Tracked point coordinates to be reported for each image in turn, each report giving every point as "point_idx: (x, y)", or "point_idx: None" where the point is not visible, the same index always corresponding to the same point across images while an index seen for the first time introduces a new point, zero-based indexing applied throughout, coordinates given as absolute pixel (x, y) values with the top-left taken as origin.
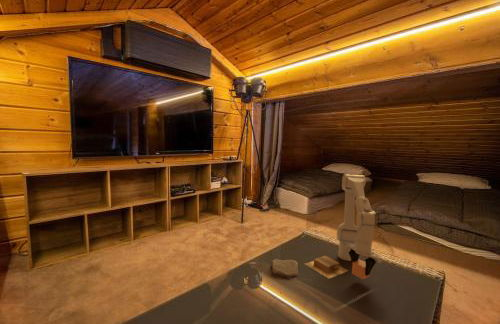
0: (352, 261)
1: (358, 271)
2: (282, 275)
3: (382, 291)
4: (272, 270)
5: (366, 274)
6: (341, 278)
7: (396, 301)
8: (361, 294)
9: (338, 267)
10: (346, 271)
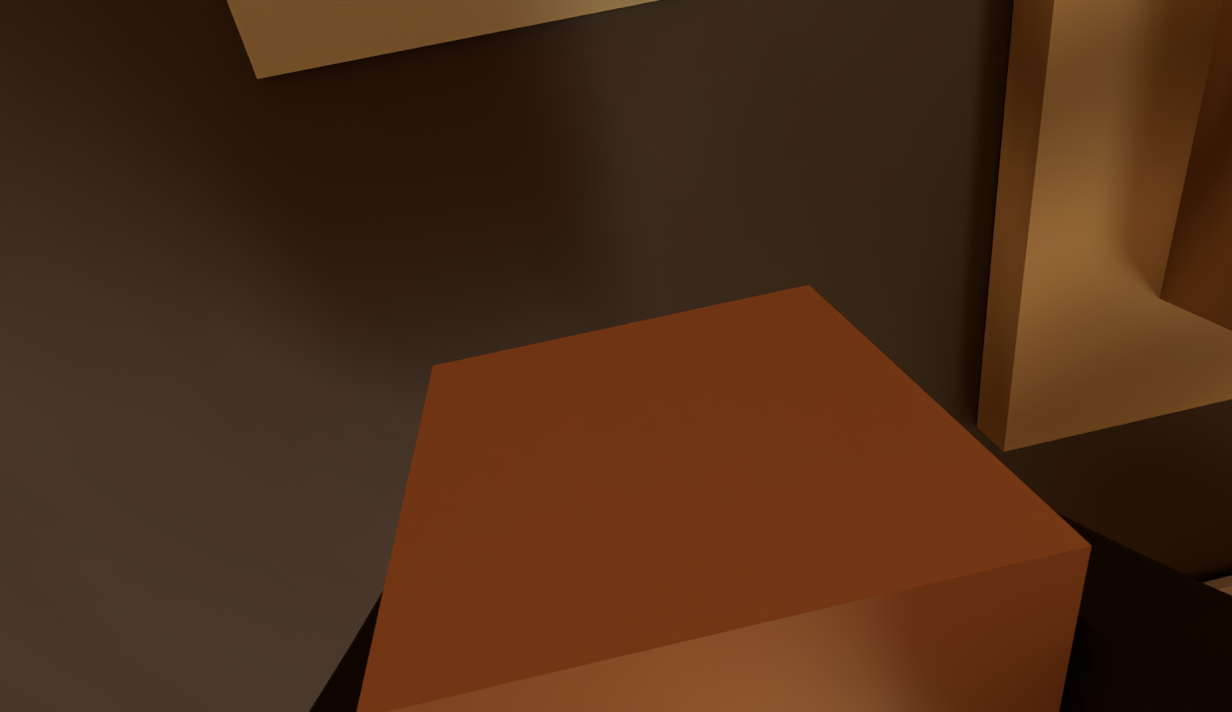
0: (1132, 583)
1: (621, 421)
2: None
3: (319, 577)
4: None
5: None
6: (932, 128)
7: (5, 589)
8: (251, 61)
9: (1205, 296)
10: (1013, 393)
